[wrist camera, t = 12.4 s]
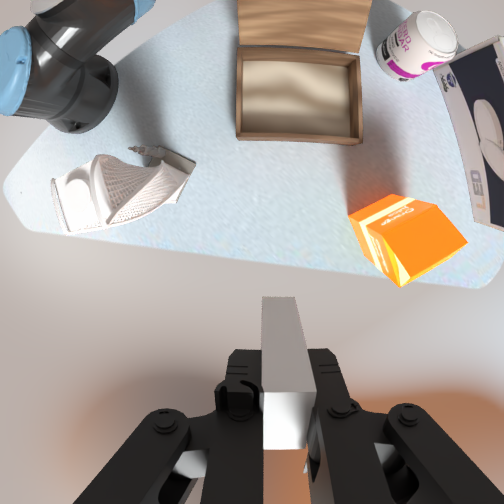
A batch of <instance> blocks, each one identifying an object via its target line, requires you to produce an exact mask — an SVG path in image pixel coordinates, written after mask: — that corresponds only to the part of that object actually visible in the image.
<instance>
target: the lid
mask: <svg viewBox="0 0 504 504" xmlns="http://www.w3.org/2000/svg"><path fill="white" fill-rule="evenodd" d="M371 4H372V0H237V9H238V25H239V41H240V45H286V46H303V47H314V48H324V49H333V50H341V51H348V52H354V53H359V50H360V46H361V42H362V39H363V35H364V31H365V27H366V24H367V20H368V16H369V12H370V8H371Z"/></svg>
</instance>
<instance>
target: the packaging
mask: <svg viewBox="0 0 504 504" xmlns="http://www.w3.org/2000/svg"><path fill="white" fill-rule="evenodd" d="M433 72H434V74H435V76H436V79H437V81H438V84H439V86H440V89H441V92H442V94H443V97H444V100H445V103H446V106H447V108H448V111H449V114H450V117H451V121H452V124H453V127H454V130H455V134H456V137H457V141H458V144H459V148H460V152H461V156H462V160H463V164H464V169H465V173H466V178H467V183H468V188H469V193H470V199H471V205H472V211H473V218H474V222H477V223H480V224H483V225H486V226H489V227H492V228H495V229H498V230H500V231H503V232H504V36H500V35H497V36H495V37H492V38H490V39H488V40H486V41H484V42H482V43H479V44H477V45H475V46H473V47H471V48H469V49H467V50H465V51H463V52H461V53H459V54H457V55H455V56H454V57H453V58H452V59H451V60H449V61H447V62H445V63H443V64H441V65H439V66H437V67H435V68H433Z"/></svg>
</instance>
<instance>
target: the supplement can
mask: <svg viewBox="0 0 504 504" xmlns="http://www.w3.org/2000/svg"><path fill="white" fill-rule="evenodd" d="M458 44H459V42H458V37H457V35H456V32H455V30H454V29H453V27H452V26H451V25H450V23H449V22H448V21H447V20H446V19H445V18H443V17H442V16H441V15H439V14H437V13H435V12H432V11H418V12H413V13H412V14H411V15H410V16H409V17H408V18H407V19H406V20H405V21H404V22H403V23H402V24H401V25H400V26H399V27H397V28H396V29H395V30H394V31H393V32H392V33H391V34H390V35H389V36H388V37H387V38H386V39H385V40H384V41H383V42H382V43H381V44H380V45H379V46H378V49H377V52H376V54H377V60H378V63H379V65H380V67H381V68H382V69H383V71H384V72H385V73H386V74H387V75H389V76H390V77H391V78H393V79H395V80H398V81H405V82H407V81H410V80H412V79H414V78H416V77H418V76H420V75H422V74H424V73H426V72H428V71H430V70H431V69H433V68H435V67H437V66H439V65H441V64H443V63H445V62H447V61H449V60H451V59H452V58H453V57H454V56H455V54H456V50H457V49H458Z"/></svg>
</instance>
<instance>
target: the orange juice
mask: <svg viewBox="0 0 504 504" xmlns="http://www.w3.org/2000/svg"><path fill="white" fill-rule="evenodd" d="M348 217H349V219H350V222H351V224H352V226H353V229H354V231H355V234H356V236H357V238H358V241H359V243H360V246H361V248H362V251H363V253H364V256H365V257H366V258H368V259H369V260H370V261H371V262H372V263H373V264H374V265H375V266H376V267H377V268H378V269H379V270H380V271H381V272H383V273H384V274H385V275H386V276H387V277H389V278H390V279H391V280H392V281H393V282H394V283H395V284H396V285H397V286H398V287H402V286H404V285H406V284H407V283H409V282H411V281H413V280H414V279H416V278H418V277H420V276H421V275H423V274H425V273H426V272H428V271H430V270H431V269H433V268H435V267H436V266H438V265H440V264H441V263H443V262H445V261H446V260H448V259H449V258H451V257H452V256H453V255H454V254H456V253H457V252H458V251H459V250H460V249H461V248H463V247H464V246H465V245H466V244H467V243H468V242H467V241H466V239H465V238H464V237H463V236H462V235H461V233H460V232H459V231H458V230H457V229H456V227H455V226H454V225H453V224H452V223H451V221H450V220H449V219H448V218H447V217H446V216H445V215H444V213H443V212H442V211H441V210H440V209H439V208H438V206H437V205H435V204H431V203H427V202H423V201H419V200H416V199H412V198H406V197H402V196H398V195H393V194H391V195H389V196H387V197H385V198H383V199H381V200H379V201H377V202H375V203H373V204H371V205H369V206H367V207H365V208H363V209H361V210H359V211H357V212H355V213H353V214H351V215H349V216H348Z"/></svg>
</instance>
